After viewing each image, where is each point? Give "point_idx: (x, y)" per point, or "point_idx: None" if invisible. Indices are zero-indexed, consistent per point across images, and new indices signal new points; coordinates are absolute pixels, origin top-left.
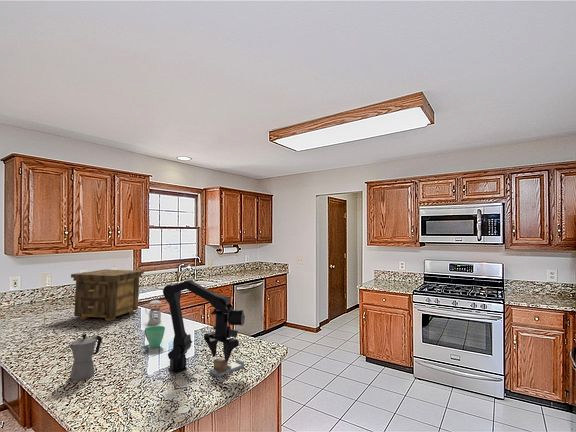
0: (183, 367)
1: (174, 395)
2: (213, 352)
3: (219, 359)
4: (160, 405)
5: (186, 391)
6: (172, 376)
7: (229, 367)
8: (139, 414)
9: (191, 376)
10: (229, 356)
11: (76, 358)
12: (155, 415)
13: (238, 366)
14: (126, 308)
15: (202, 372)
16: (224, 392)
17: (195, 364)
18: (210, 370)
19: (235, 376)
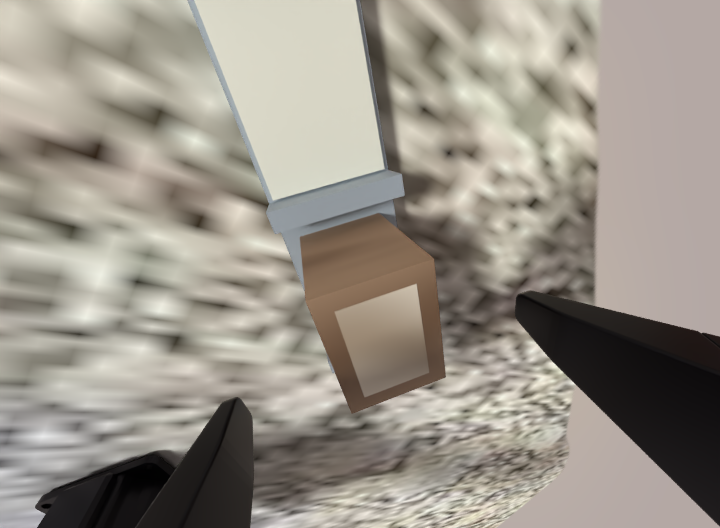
0: (148, 488)
1: (448, 466)
2: (243, 503)
3: (383, 360)
4: (477, 486)
5: (450, 437)
6: None
7: (393, 195)
8: (481, 512)
9: (300, 426)
10: (631, 323)
11: None
12: (514, 486)
13: (361, 33)
14: None
15: (266, 372)
16: None
17: (30, 406)
18: None
19: (485, 177)
